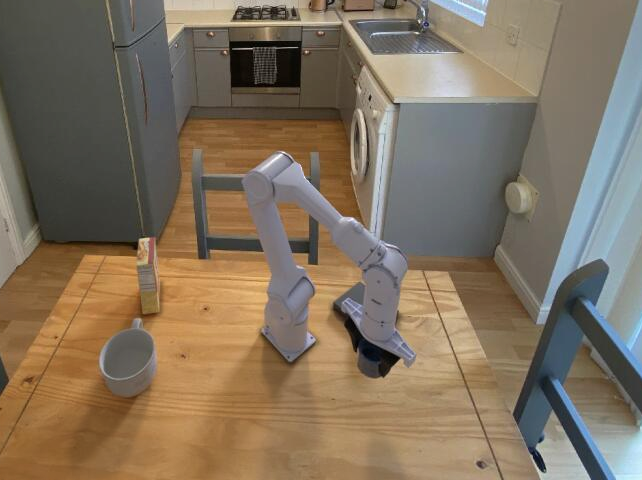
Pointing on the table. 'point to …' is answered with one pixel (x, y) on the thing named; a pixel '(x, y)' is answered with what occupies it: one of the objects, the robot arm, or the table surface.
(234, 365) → the table surface
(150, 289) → the candy box
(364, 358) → the cup
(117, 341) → the teacup
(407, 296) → the table surface
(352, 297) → the scale
